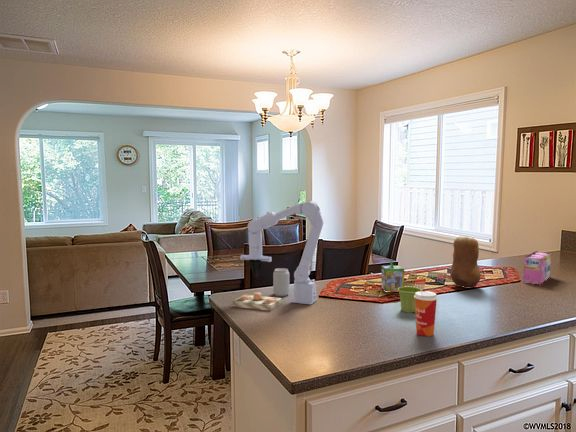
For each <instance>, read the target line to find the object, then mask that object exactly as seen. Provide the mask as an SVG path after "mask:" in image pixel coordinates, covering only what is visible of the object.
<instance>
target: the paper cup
mask: <svg viewBox="0 0 576 432" xmlns="http://www.w3.org/2000/svg"><path fill="white" fill-rule="evenodd" d="M414 298H415V311H416V312H415V328H416V329H415V330H416V334H417V335H418V336H421V337H433V336H434V334H435V333H434V332H435V323H436V311H437V300H438V296H437V293H435V292H434V291H428V290H426V291H423V290H422V291H420V292H419V291H418V292H416V293H415V295H414Z"/></svg>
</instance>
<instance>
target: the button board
mask: <svg viewBox="0 0 576 432" xmlns="http://www.w3.org/2000/svg"><path fill="white" fill-rule="evenodd" d="M242 296H249V299H247V300H244V299H241V296H239V297H237V298H235V299H233V300H232V307H233V308H234V307H236V308H244V309H252V310H259V309H260V310H262V311H267V312H269V311H270V312H272V311H274V310H275V309H277V308H278V307H280V305H282V304H283V298H282V297H275V296H273V297H272V296H265V295H264V296H263V295H261V301H254V300H253V294H246V293H245V294H243V295H242ZM269 298H272V299H274V302H273V303H272V302H266V299H269Z"/></svg>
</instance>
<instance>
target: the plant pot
mask: <svg viewBox="0 0 576 432" xmlns="http://www.w3.org/2000/svg"><path fill="white" fill-rule="evenodd" d="M398 291H399V293H398V294H399V303H400V307H401V311H403V312H405V313H413V312H414V313H416V311H415V298H414V295H415V293H416V292H418V291H419V292H420V291H423V290H422V289H421V288H419V287H417V286H404V287H399V288H398Z"/></svg>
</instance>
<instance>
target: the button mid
mask: <svg viewBox="0 0 576 432" xmlns="http://www.w3.org/2000/svg"><path fill="white" fill-rule="evenodd" d="M252 295H253V300H254V301H261V296H262V292H259V291H258V292H257V291H256V292H253V294H252Z"/></svg>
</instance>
